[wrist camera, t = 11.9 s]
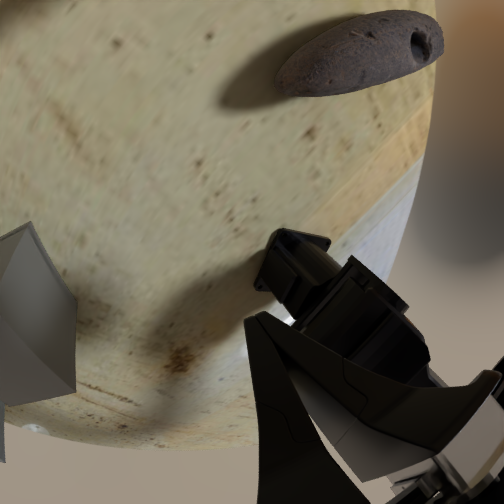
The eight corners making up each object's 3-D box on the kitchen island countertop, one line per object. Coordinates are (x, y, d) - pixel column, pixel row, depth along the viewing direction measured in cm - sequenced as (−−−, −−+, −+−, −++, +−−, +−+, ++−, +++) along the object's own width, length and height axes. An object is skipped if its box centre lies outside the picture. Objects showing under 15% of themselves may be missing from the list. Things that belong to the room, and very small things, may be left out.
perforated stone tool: (272, 115, 18) (335, 134, 13) (239, 53, 15) (297, 41, 10) (394, 56, 19) (455, 66, 13) (378, 8, 15) (441, 8, 10)
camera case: (30, 220, 14) (-8, 303, 8) (77, 303, 19) (76, 392, 13) (-29, 254, 12) (-68, 334, 6) (20, 324, 17) (9, 406, 11)
